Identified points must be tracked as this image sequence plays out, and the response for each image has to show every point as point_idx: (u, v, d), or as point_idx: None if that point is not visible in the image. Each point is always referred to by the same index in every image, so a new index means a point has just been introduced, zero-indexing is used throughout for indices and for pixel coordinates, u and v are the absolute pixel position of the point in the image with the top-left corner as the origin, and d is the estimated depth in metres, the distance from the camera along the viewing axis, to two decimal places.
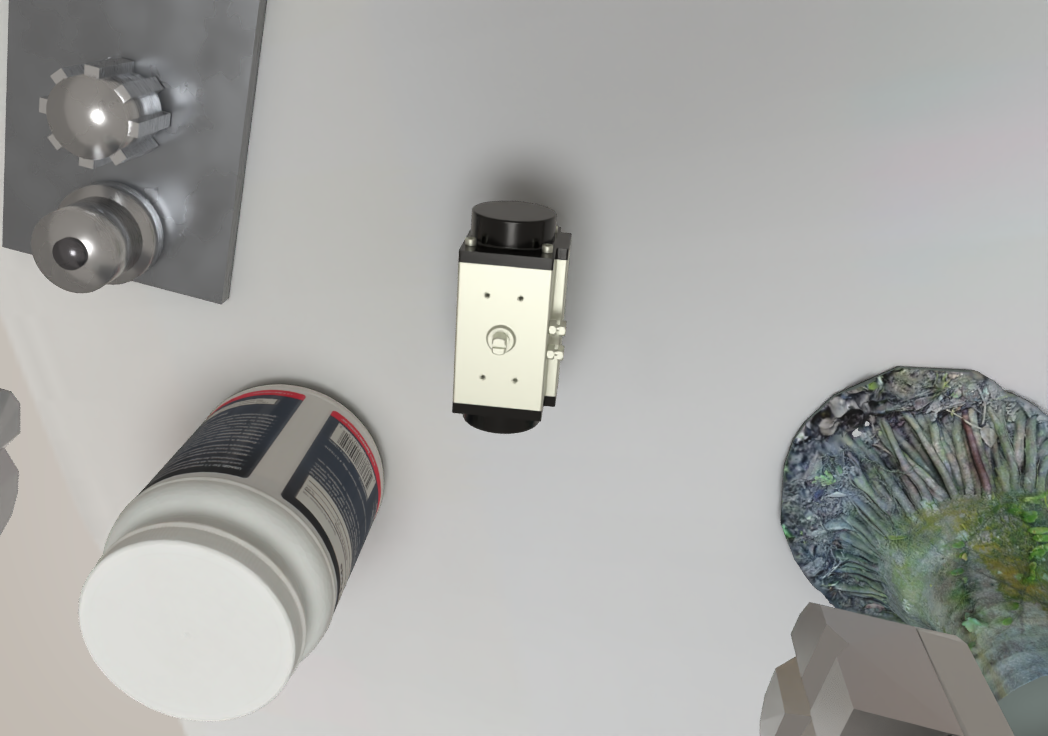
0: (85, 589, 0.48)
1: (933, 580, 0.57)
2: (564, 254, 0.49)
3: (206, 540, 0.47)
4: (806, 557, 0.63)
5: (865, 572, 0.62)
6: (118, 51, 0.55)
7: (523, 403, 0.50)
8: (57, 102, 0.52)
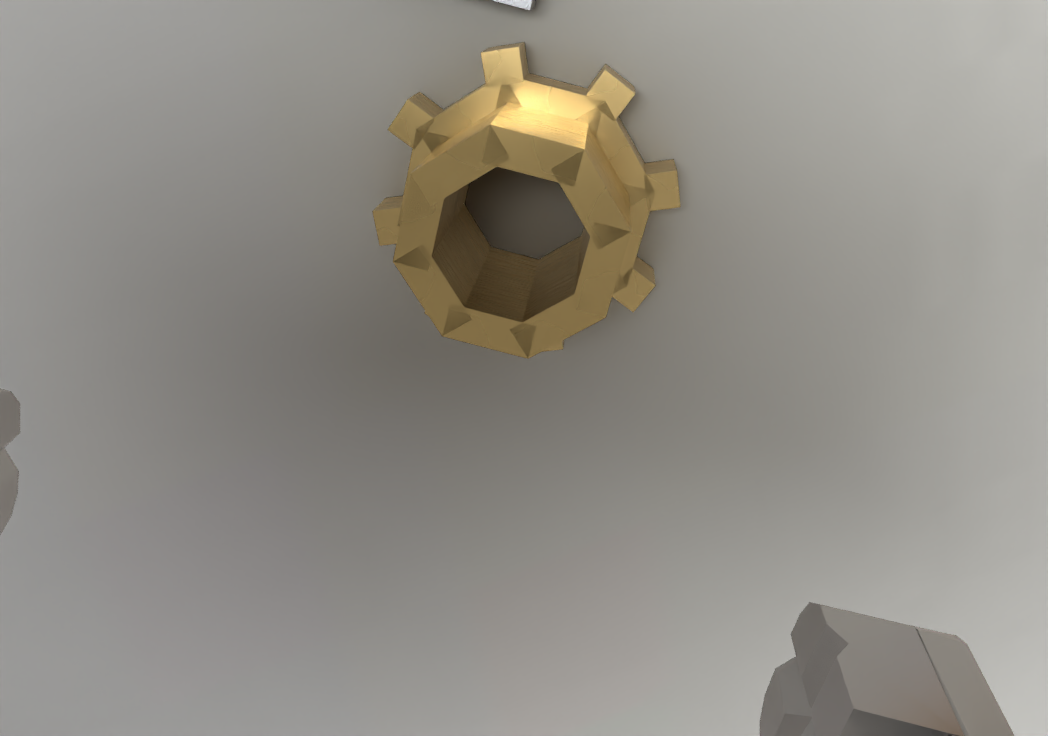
0: None
1: None
2: None
3: None
4: None
5: None
6: None
7: None
8: None
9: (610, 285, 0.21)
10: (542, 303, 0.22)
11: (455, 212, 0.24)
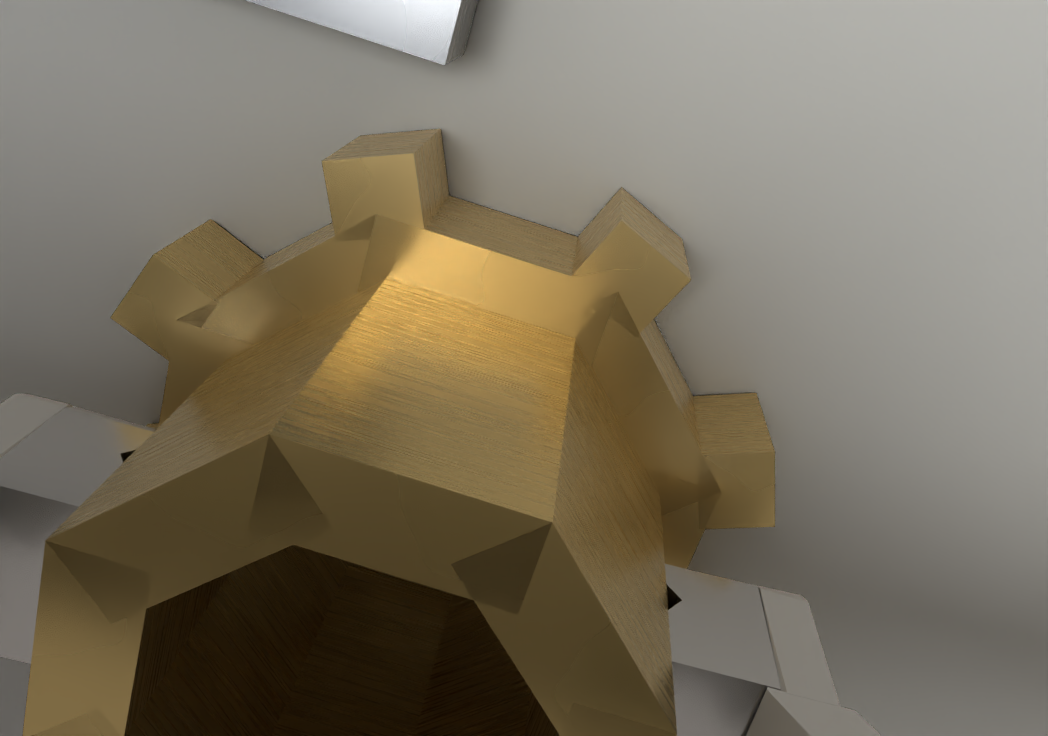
0: None
1: None
2: None
3: None
4: None
5: None
6: None
7: None
8: None
9: None
10: None
11: None
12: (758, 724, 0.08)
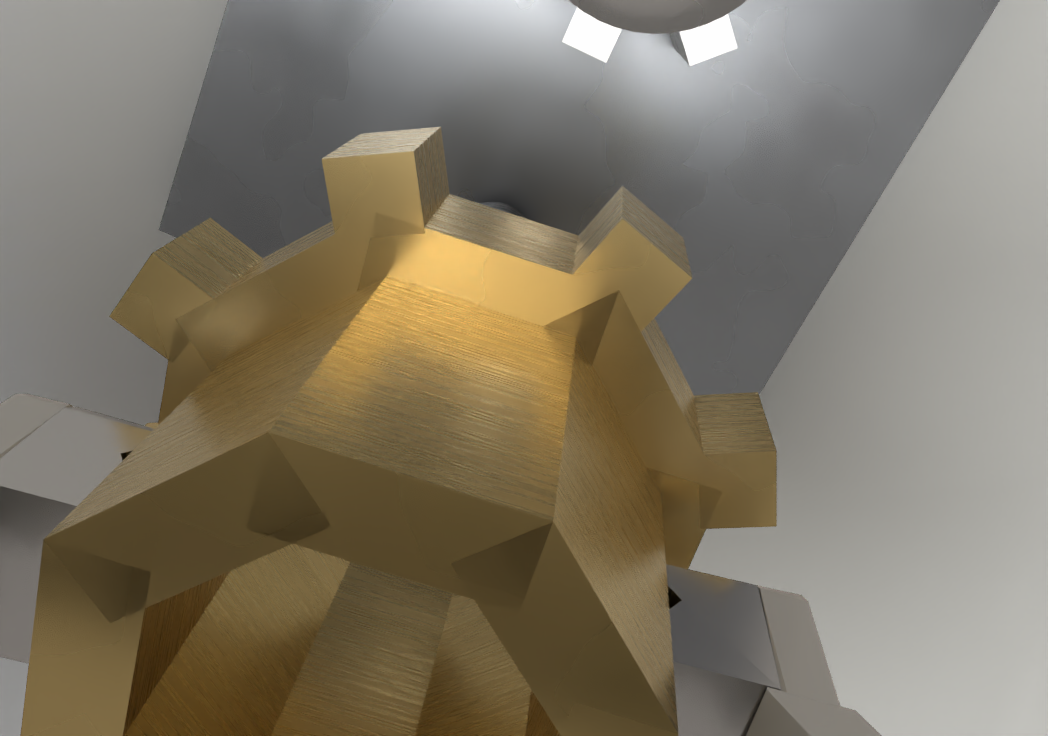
0: None
1: None
2: None
3: None
4: None
5: None
6: (607, 61, 0.20)
7: None
8: None
9: None
10: None
11: None
12: (758, 724, 0.08)
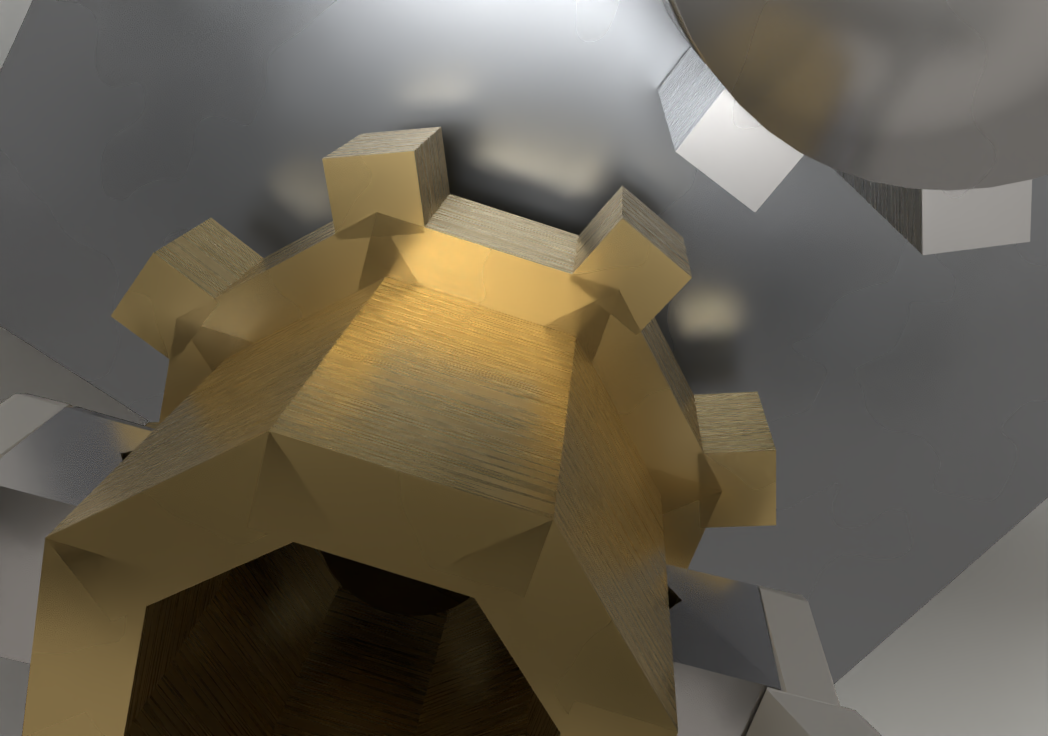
0: None
1: None
2: None
3: None
4: None
5: None
6: None
7: None
8: None
9: None
10: None
11: None
12: (758, 724, 0.08)
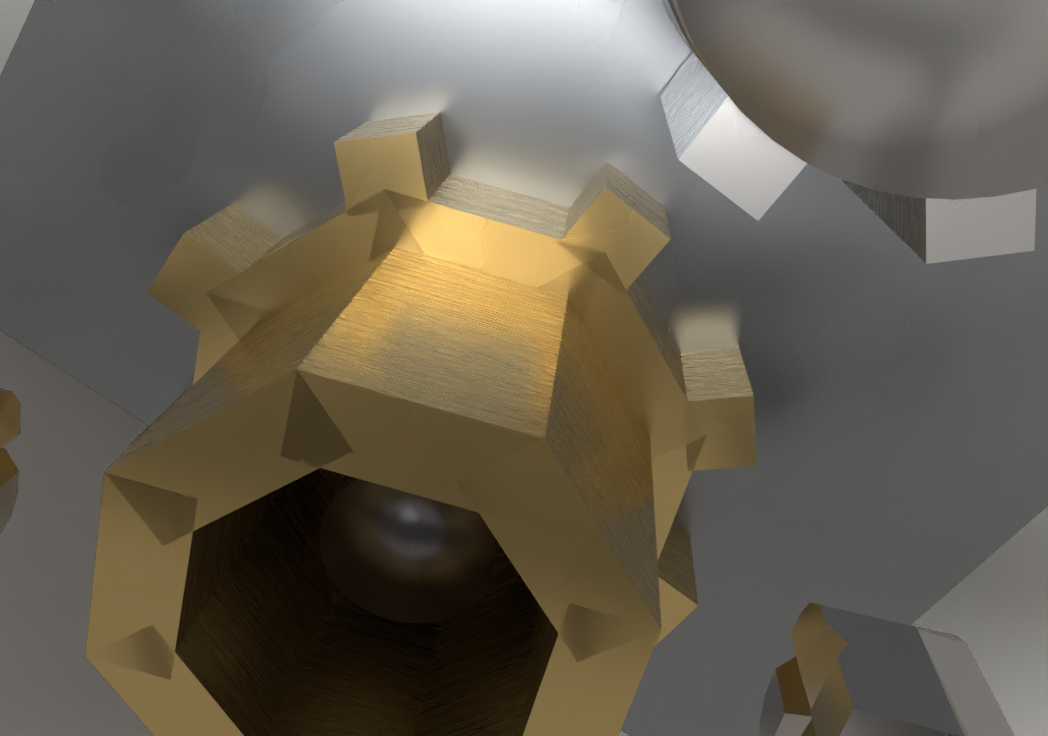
0: None
1: None
2: None
3: None
4: None
5: None
6: None
7: None
8: None
9: (606, 734, 0.09)
10: (450, 726, 0.10)
11: None
12: None
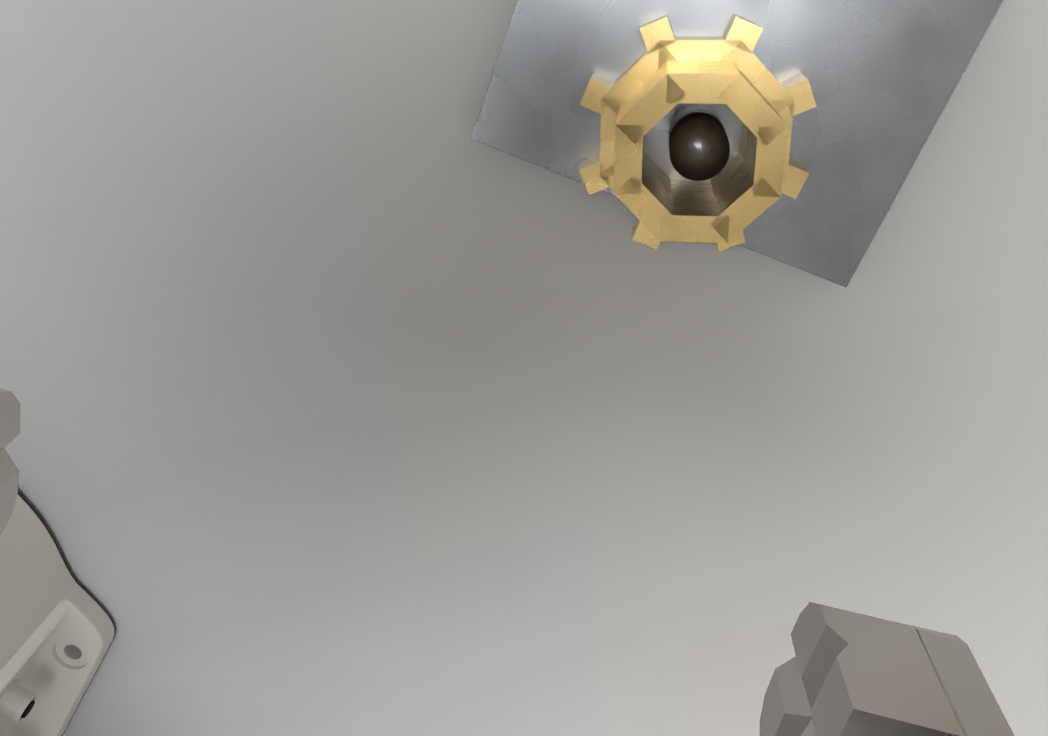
0: None
1: None
2: None
3: None
4: None
5: None
6: (772, 3, 0.30)
7: None
8: None
9: (779, 171, 0.27)
10: (729, 200, 0.29)
11: None
12: None
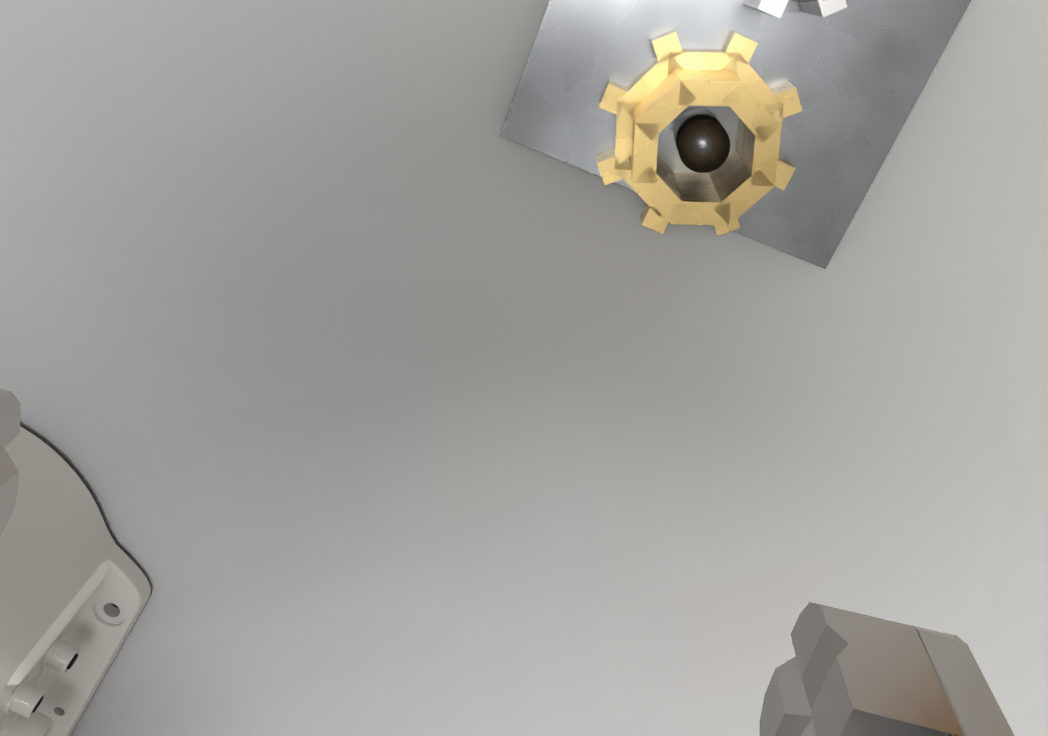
0: None
1: None
2: None
3: None
4: None
5: None
6: (764, 22, 0.35)
7: None
8: None
9: (774, 164, 0.32)
10: (729, 189, 0.33)
11: None
12: None
